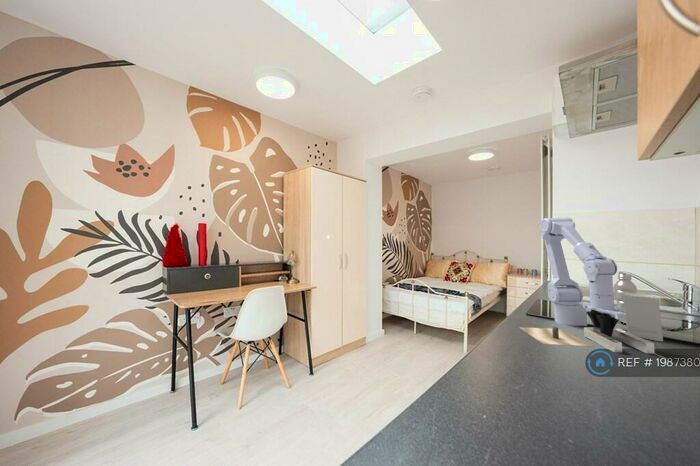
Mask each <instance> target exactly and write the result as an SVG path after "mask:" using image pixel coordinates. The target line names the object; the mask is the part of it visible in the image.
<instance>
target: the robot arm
mask: <svg viewBox="0 0 700 466" xmlns="http://www.w3.org/2000/svg"><path fill="white" fill-rule="evenodd" d="M539 230H540V234H541V238H542V240H544V244H545V249H546V252H547V256H548V260H549V266H550V270H551V272H552V273H551V274H552V280H551V281H550V282H549V283H548V284H547V296H548V298H549V300H550V301H551V302H552V303H553V311H554V312H553V314H554V322H555V323H557V324H560V325H562V326H563V325H564V326H570V327H571V326H572V327H575V326H576V327H577V326H581V327H582V326H583V327H587V326H588V317H589V318H590V321H591V323H592V325H593V327H600V328H601V332H602V333H603V334H605V335H607V336H609V337H611V336H612V333H613V330H614V328H616V326H617V324H618V323H619V322H618V321H619V320H625V313H622V312H620V311H618V310H617V308H615V298H614V280H613V276H615V275H616V274H617V273H618V264H617V263H616V261H615V260H614V259H613V258H608V257H606V256H604V255H603V254H602V253H601V252H600V251H599V250H598V249H597V248H596V247H595V245H594V243H591V242H586V241H585V240H584V238H582V236H581V235H580V233H579V232H578V231H577V230H576V223H575V221H574V219H572V218H570V217H556V218H555V217H551V218H549V217H544V218H543V219H542V220H541V221H540V225H539ZM564 239H566V240H567V241H568V242H569V243H570V244H571V245H572V246H573V247H574V248H573V253H574V254H575V256H577V258H578V259H580V261H581V263H583V265H584V266H583V267H582V268H583V270H584V271H583V272H584V273H585V275H586V279H587V280H588V284H589V285H588V286H589V302H588V301H587V302H586V301H585V302H582V301H583V299H584V294H583V292H582V290H581V288H580V287H579V283H578V282H576V281H575V280H573V279H571V276H570V273H569V270H568V265H567V262H566V258H565V254H564V250H563V246H562V240H564ZM581 302H582V303H581ZM587 310H589V311H587Z"/></svg>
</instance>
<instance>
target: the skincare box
mask: <svg viewBox="0 0 700 466" xmlns="http://www.w3.org/2000/svg"><path fill="white" fill-rule="evenodd" d="M623 296H624V307H625V315H626V324H625V325H626V329H627V331H626V332H629V333H631V334H633V335H636V336H638V337H640V338H643V339H645V340H651V341H656V342H664V334H663V329H662V320H661V318H662V316H661V307H660V298H659V297H658V296H657V295H656V294H648V293H647V294H645V293H637V294H632V293H623Z"/></svg>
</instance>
